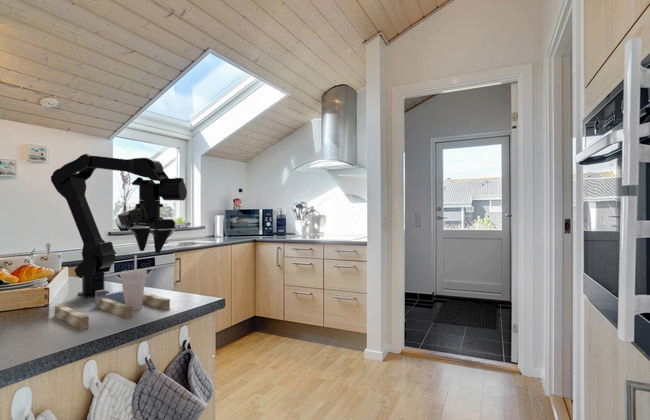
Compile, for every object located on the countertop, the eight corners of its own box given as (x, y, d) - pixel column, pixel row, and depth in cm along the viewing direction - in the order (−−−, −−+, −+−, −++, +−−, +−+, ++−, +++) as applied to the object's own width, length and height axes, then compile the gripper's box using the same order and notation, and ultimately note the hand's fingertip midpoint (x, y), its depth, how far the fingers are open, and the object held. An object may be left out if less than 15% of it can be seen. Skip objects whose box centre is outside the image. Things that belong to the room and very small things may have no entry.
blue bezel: (95, 306, 97) (95, 291, 97) (136, 298, 106) (136, 284, 106) (97, 307, 96) (97, 291, 96) (139, 299, 105) (139, 284, 105)
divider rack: (54, 316, 89) (54, 305, 89) (139, 299, 105) (139, 290, 105) (80, 329, 79) (80, 318, 79) (169, 308, 96) (169, 299, 96)
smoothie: (135, 312, 92) (135, 257, 92) (113, 311, 93) (113, 256, 93) (152, 305, 98) (152, 253, 98) (131, 304, 100) (131, 253, 100)
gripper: (107, 200, 110) (107, 252, 110) (138, 199, 98) (138, 257, 98) (144, 200, 119) (144, 249, 119) (176, 200, 107) (176, 253, 107)
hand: (149, 252), depth 111 cm, fingers open, 9 cm apart
